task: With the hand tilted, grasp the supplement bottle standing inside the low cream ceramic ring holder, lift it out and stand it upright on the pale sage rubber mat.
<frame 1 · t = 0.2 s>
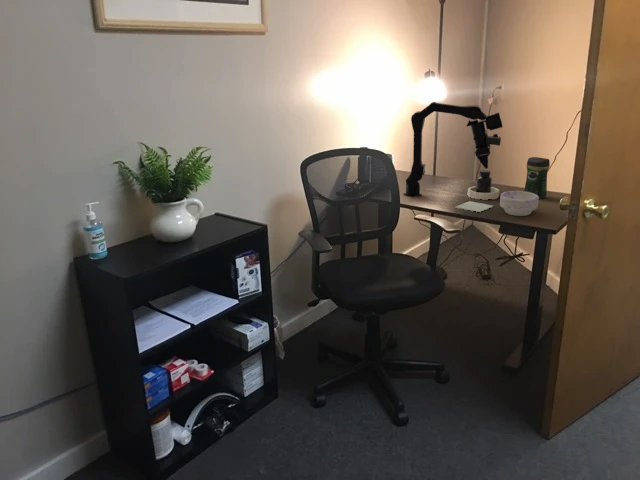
hand: (486, 166, 241), 15 cm above the table, tool tilted 15°, fingers open, 9 cm apart
paper bowls: (517, 213, 223), on the table
coffee jar: (534, 197, 246), on the table
mat: (474, 207, 233), on the table
ring holder: (483, 195, 250), on the table
supplement bottle: (483, 196, 250), resting in ring holder
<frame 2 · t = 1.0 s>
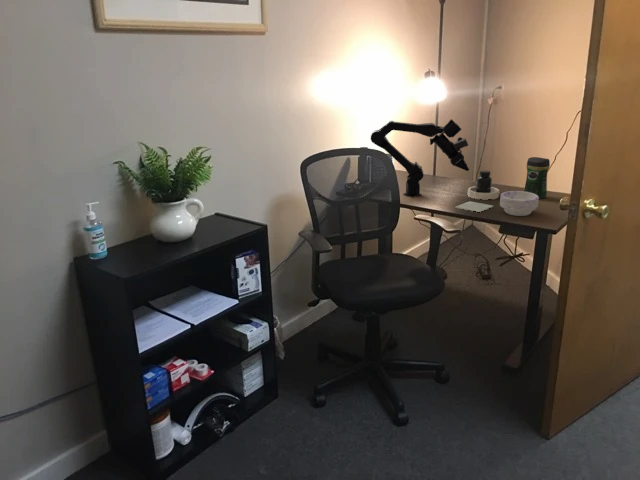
hand: (467, 168, 247), 13 cm above the table, tool tilted 45°, fingers open, 9 cm apart
nothing on the table moved.
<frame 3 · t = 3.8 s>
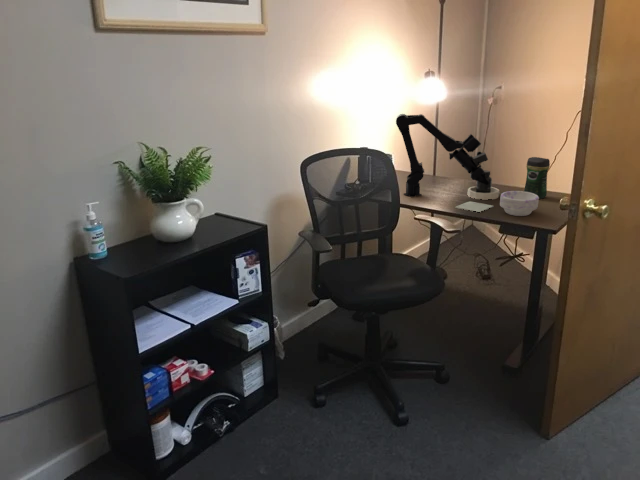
hand: (487, 182, 248), 7 cm above the table, tool tilted 45°, fingers closed on supplement bottle, 7 cm apart
supplement bottle: (483, 196, 250), resting in ring holder, touching gripper
everything else where it was.
when the fingers open (8 cm above the table, at t = 8.6 s): supplement bottle drops 1 cm, resting on mat.
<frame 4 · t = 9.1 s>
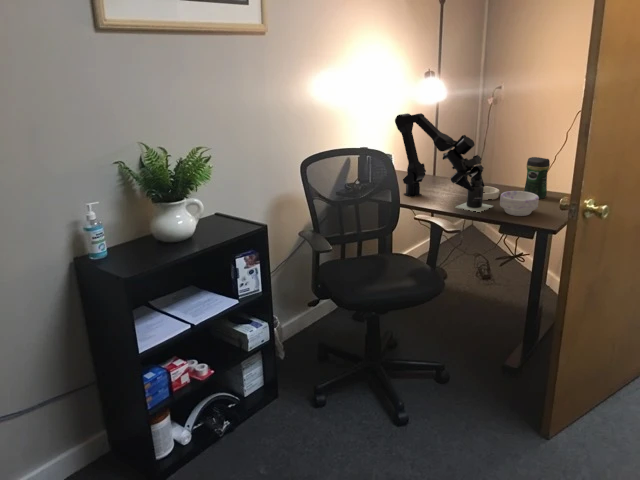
hand: (478, 189, 229), 9 cm above the table, tool tilted 45°, fingers open, 9 cm apart
supplement bottle: (474, 206, 233), resting on mat
everything else where it was.
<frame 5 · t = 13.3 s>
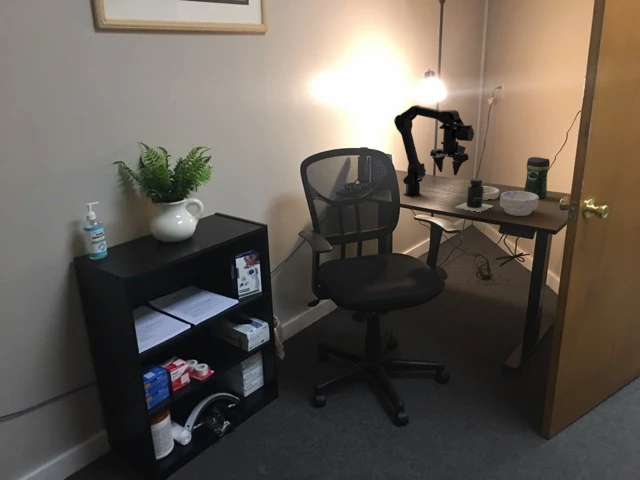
hand: (448, 173, 239), 13 cm above the table, tool pointing down, fingers open, 9 cm apart
nothing on the table moved.
at the end: supplement bottle inside the target area on the mat (0.3 cm from its centre), point 0.3 cm above the mat's base; supplement bottle tilted 0°; the gripper is holding nothing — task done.
